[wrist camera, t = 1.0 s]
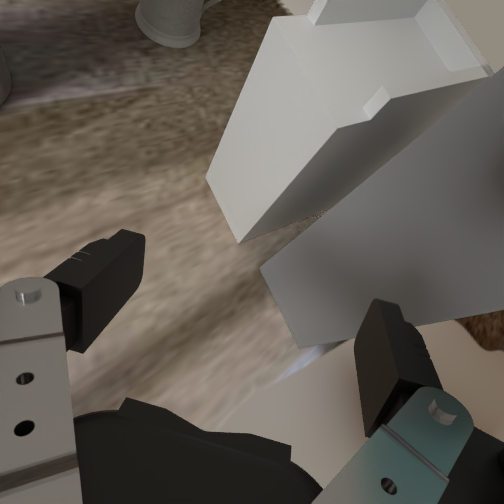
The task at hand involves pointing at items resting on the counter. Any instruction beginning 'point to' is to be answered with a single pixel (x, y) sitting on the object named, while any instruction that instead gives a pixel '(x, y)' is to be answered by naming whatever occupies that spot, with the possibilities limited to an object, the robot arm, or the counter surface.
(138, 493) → the robot arm
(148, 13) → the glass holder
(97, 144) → the counter surface
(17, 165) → the counter surface
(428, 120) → the white open box
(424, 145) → the tall grey pillar
